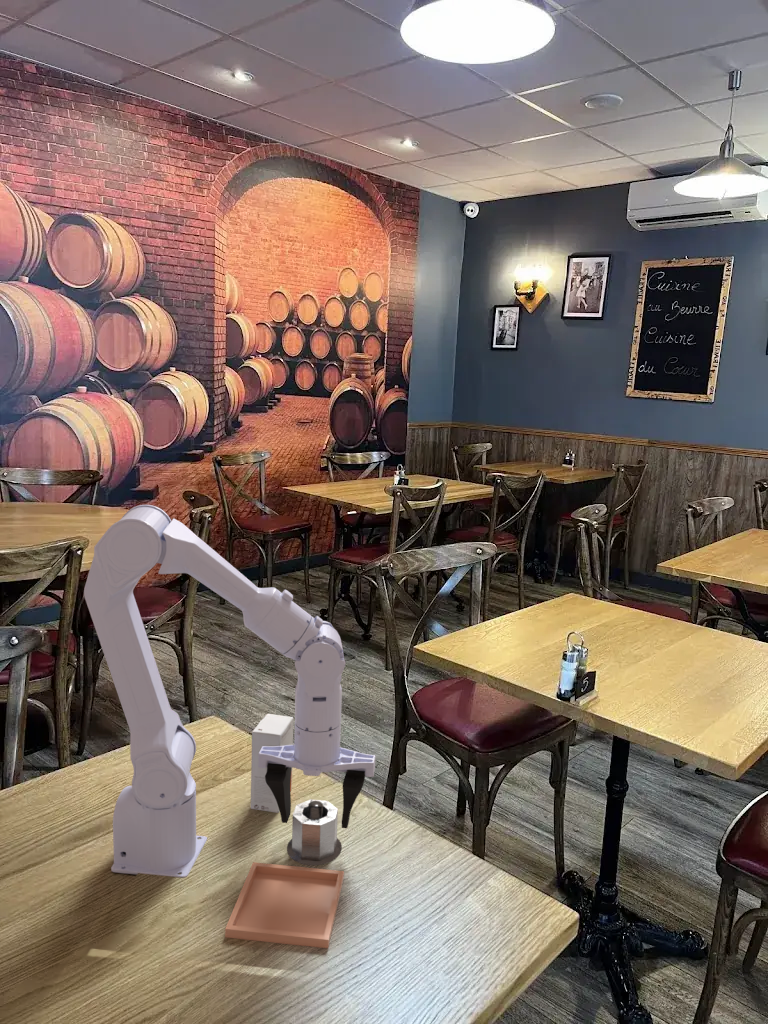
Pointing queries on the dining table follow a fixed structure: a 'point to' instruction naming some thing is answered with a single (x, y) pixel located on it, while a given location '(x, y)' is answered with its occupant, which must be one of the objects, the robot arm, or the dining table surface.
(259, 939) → the tray
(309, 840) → the octagonal pencil cup
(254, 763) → the skincare box
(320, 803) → the stand
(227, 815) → the dining table surface
